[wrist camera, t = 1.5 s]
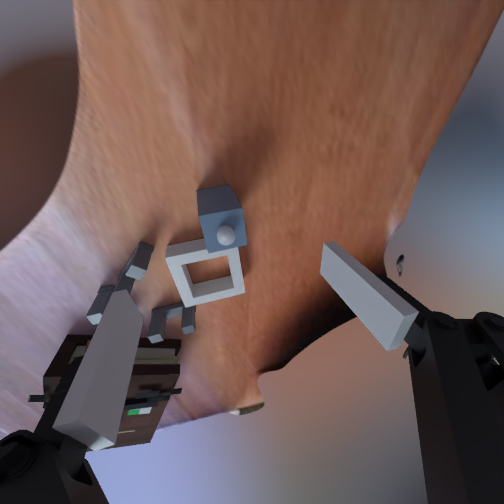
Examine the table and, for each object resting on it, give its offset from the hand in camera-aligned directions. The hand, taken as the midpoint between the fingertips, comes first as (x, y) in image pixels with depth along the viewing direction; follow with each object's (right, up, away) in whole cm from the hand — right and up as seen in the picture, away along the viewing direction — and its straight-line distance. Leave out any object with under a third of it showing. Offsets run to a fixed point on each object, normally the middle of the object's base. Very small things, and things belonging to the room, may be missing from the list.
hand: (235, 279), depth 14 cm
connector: (-3, +8, +12) cm, 15 cm away
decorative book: (-25, -23, +26) cm, 42 cm away
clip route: (-14, -3, +16) cm, 21 cm away
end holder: (-5, 0, +17) cm, 17 cm away
